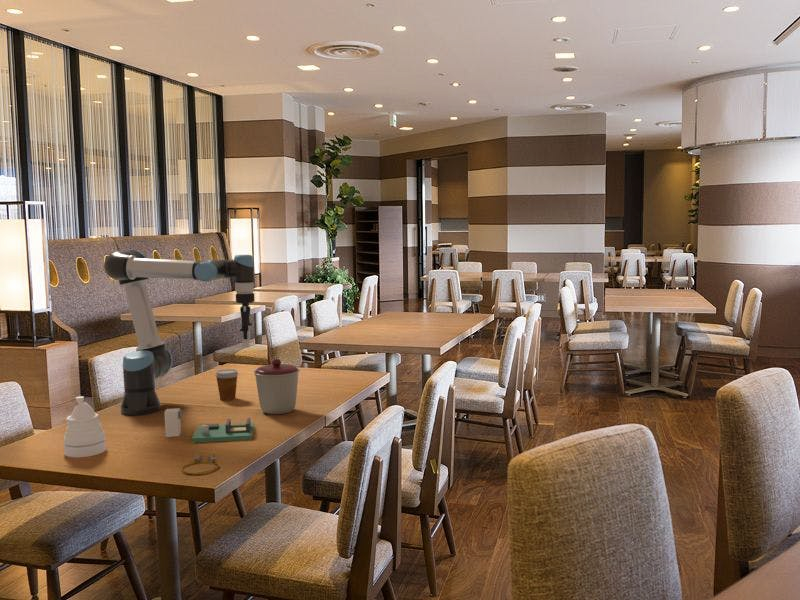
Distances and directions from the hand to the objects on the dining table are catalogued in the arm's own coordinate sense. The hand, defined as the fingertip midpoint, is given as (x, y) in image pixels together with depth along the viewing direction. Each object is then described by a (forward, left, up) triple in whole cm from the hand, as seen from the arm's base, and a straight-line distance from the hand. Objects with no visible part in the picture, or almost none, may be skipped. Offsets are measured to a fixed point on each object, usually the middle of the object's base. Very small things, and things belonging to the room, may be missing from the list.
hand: (246, 344), depth 302 cm
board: (-5, -44, -25) cm, 50 cm away
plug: (-23, -41, -25) cm, 53 cm away
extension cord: (-8, -78, -26) cm, 82 cm away
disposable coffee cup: (-9, +10, -25) cm, 29 cm away
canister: (+13, -15, -25) cm, 32 cm away
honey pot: (-49, -55, -25) cm, 78 cm away
